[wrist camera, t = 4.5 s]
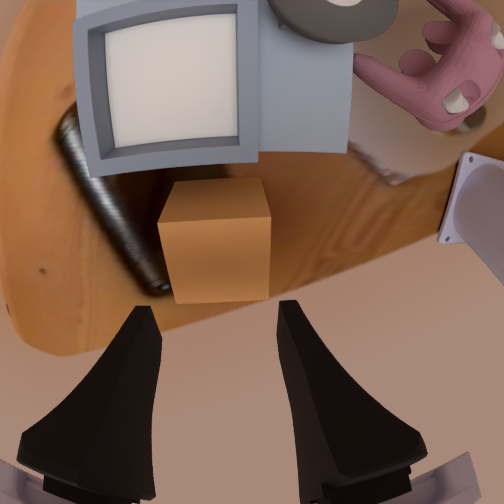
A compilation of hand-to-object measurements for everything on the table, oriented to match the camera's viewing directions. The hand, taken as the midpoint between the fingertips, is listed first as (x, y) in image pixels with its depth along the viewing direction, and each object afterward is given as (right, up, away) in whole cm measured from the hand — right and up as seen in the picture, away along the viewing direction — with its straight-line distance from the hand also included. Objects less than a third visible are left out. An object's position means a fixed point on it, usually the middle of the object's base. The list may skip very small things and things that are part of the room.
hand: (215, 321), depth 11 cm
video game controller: (+11, +15, +1) cm, 19 cm away
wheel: (+4, +14, -2) cm, 15 cm away
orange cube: (-1, +5, +7) cm, 8 cm away
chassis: (-1, +13, +1) cm, 13 cm away
